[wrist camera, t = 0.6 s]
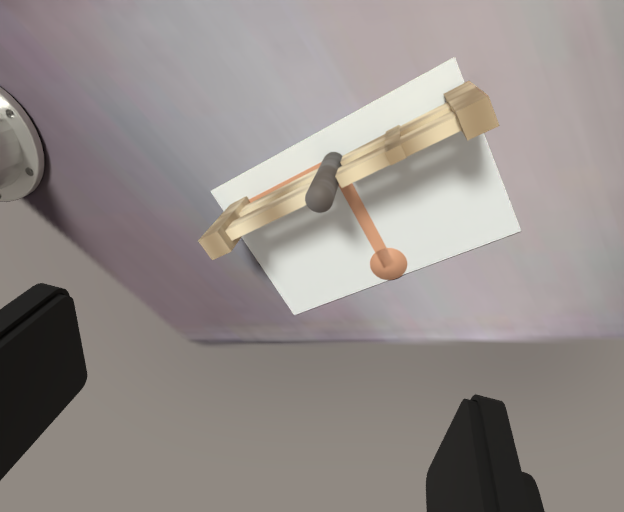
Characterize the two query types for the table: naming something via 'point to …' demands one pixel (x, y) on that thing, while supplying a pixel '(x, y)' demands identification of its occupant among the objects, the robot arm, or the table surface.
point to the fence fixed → (273, 207)
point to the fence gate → (422, 133)
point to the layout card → (377, 202)
